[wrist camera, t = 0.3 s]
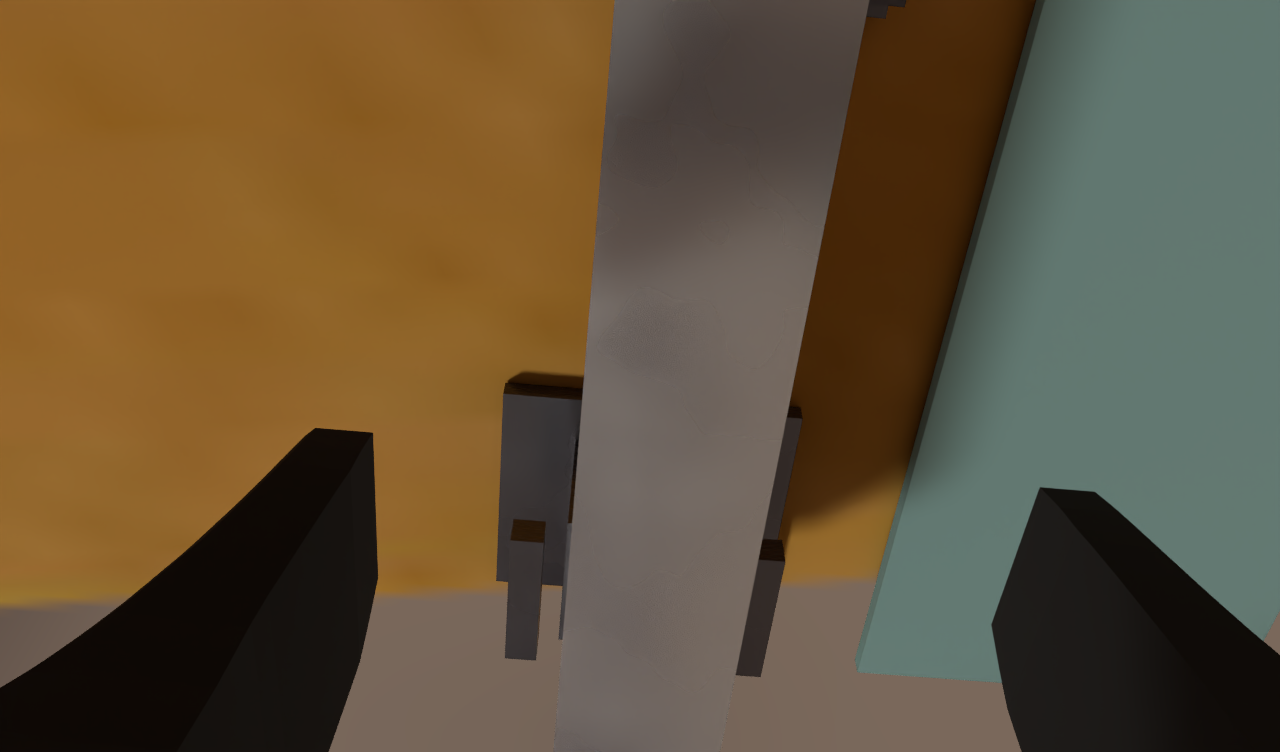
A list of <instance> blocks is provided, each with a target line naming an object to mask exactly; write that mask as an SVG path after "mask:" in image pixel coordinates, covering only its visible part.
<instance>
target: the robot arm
mask: <svg viewBox="0 0 1280 752" xmlns="http://www.w3.org/2000/svg"><path fill="white" fill-rule="evenodd" d="M377 580H378V564H377V536H376V507H375V479H374V451H373V433H370V432H358V431H346V430H333V429H321V428H315V429H313V430H312V431H311V432H310V433H308V434H307V435H306V436H305V437H304V438H303V439H302V440H301V441H300V442H299V443H298V444H297V445H296V446H295V447H294V448H293V449H292V450H291V451H290V452H289V453H288V454H287V455H286V456H285V457H284V458H283V459H282V460H281V461H280V462H279V463H278V464H277V465H276V466H275V467H274V468H273V469H272V470H271V471H270V472H269V473H268V474H267V475H266V476H265V477H264V478H263V479H262V480H261V481H260V482H259V483H258V484H257V485H256V486H255V487H254V488H253V489H252V490H251V491H250V492H249V493H248V494H247V495H246V496H245V497H244V498H243V499H242V500H241V501H239V502H238V503H237V504H236V505H235V506H234V507H233V508H232V509H231V510H230V511H229V512H228V513H227V514H226V515H225V516H223V517H222V518H221V519H220V520H219V521H218V522H217V523H216V524H215V525H214V526H213V527H212V528H210V529H209V530H208V531H207V532H206V533H205V534H204V535H203V536H202V537H201V538H200V539H199V540H197V541H196V542H195V543H194V544H193V545H192V546H191V547H190V548H189V549H187V550H186V551H185V552H184V553H183V554H182V555H181V556H179V557H178V558H177V559H176V560H175V561H173V562H172V563H171V564H170V565H169V566H167V567H166V568H165V569H164V570H163V571H161V572H160V573H159V574H158V575H157V576H155V577H154V578H153V579H152V580H151V581H149V582H148V583H147V584H146V585H145V586H143V587H142V588H141V589H140V590H139V591H137V592H136V593H135V594H134V595H132V596H131V597H130V598H129V599H128V600H126V601H125V602H124V603H123V604H121V605H120V606H119V607H117V608H116V609H115V610H114V611H112V612H111V613H110V614H108V615H107V616H106V617H105V618H103V619H102V620H100V621H99V622H98V623H97V624H95V625H94V626H92V627H91V628H90V629H88V630H87V631H86V632H84V633H83V634H81V636H79V637H77V638H76V639H74V640H73V641H72V642H70V643H69V644H67V645H66V646H64V647H63V648H62V649H60V650H59V651H57V652H56V653H54V654H53V655H51V656H50V657H49V658H47V659H46V660H44V661H43V662H41V663H40V664H38V665H37V666H35V667H34V668H32V669H31V670H29V671H27V672H26V673H24V674H22V675H21V676H19V677H17V678H16V679H14V680H12V681H11V682H9V683H8V684H6V685H4V686H2V687H1V688H0V752H328V751H329V749H330V746H331V743H332V740H333V738H334V735H335V732H336V729H337V726H338V723H339V720H340V717H341V715H342V712H343V709H344V706H345V703H346V700H347V698H348V695H349V692H350V689H351V686H352V683H353V680H354V677H355V674H356V671H357V668H358V665H359V663H360V659H361V654H362V649H363V645H364V641H365V636H366V632H367V627H368V623H369V618H370V613H371V609H372V604H373V599H374V595H375V590H376V585H377ZM991 626H992V632H993V638H994V643H995V649H996V654H997V660H998V665H999V671H1000V676H1001V680H1002V685H1003V689H1004V694H1005V699H1006V704H1007V708H1008V711H1009V715H1010V718H1011V721H1012V724H1013V727H1014V730H1015V733H1016V736H1017V739H1018V742H1019V745H1020V748H1021V750H1022V752H1280V655H1279V654H1278V653H1277V652H1275V651H1274V650H1273V649H1272V648H1271V647H1270V646H1268V645H1267V644H1266V643H1265V642H1264V641H1263V640H1261V639H1260V638H1259V637H1258V636H1257V635H1256V634H1254V633H1253V632H1252V631H1251V630H1250V629H1249V628H1247V627H1246V626H1245V625H1244V624H1243V623H1242V622H1240V621H1239V620H1238V619H1237V618H1236V617H1235V616H1234V615H1232V614H1231V613H1230V612H1229V611H1228V610H1227V609H1226V608H1225V607H1224V606H1222V605H1221V604H1220V603H1219V602H1218V601H1217V600H1216V599H1215V598H1213V597H1212V596H1211V595H1210V594H1209V593H1208V592H1207V591H1206V590H1205V589H1203V588H1202V587H1201V586H1200V585H1199V584H1198V583H1197V582H1196V581H1195V580H1194V579H1192V578H1191V577H1190V576H1189V575H1188V574H1187V573H1186V572H1185V571H1184V570H1183V569H1181V568H1180V567H1179V566H1178V565H1177V564H1176V563H1175V562H1174V561H1173V560H1172V559H1171V558H1169V557H1168V556H1167V555H1166V554H1165V553H1164V552H1163V551H1162V550H1161V549H1160V548H1159V547H1157V546H1156V545H1155V544H1154V543H1153V542H1152V541H1151V540H1150V539H1149V538H1148V537H1147V536H1145V535H1144V534H1143V533H1142V532H1141V531H1140V530H1139V529H1138V528H1137V527H1136V526H1134V525H1133V524H1132V523H1131V522H1130V521H1129V520H1128V519H1127V518H1126V517H1124V516H1123V515H1122V514H1121V513H1120V512H1119V511H1118V510H1116V509H1115V508H1114V507H1113V506H1112V505H1111V504H1109V503H1108V502H1107V501H1106V500H1105V499H1103V498H1102V497H1101V496H1100V495H1098V494H1097V493H1096V492H1093V491H1080V490H1068V489H1056V488H1044V487H1040V488H1039V491H1038V493H1037V496H1036V499H1035V502H1034V505H1033V508H1032V510H1031V513H1030V516H1029V519H1028V522H1027V525H1026V527H1025V530H1024V533H1023V536H1022V539H1021V542H1020V544H1019V547H1018V550H1017V553H1016V556H1015V559H1014V561H1013V564H1012V567H1011V570H1010V573H1009V576H1008V578H1007V581H1006V584H1005V587H1004V590H1003V593H1002V595H1001V598H1000V601H999V604H998V607H997V610H996V612H995V615H994V618H993V621H992V624H991Z"/></svg>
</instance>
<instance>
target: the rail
mask: <svg viewBox="0 0 1280 752" xmlns="http://www.w3.org/2000/svg"><path fill="white" fill-rule="evenodd" d="M868 5H869V0H615V5H614V17H613V29H612V42H611V54H610V66H609V78H608V91H607V103H606V115H605V127H604V140H603V152H602V164H601V176H600V189H599V201H598V213H597V225H596V238H595V250H594V262H593V274H592V287H591V299H590V311H589V323H588V335H587V348H586V360H585V372H584V384H583V397H582V409H581V421H580V433H579V446H578V458H577V470H576V482H575V495H574V507H573V519H572V531H571V544H570V556H569V568H568V580H567V593H566V605H565V617H564V629H563V642H562V655H561V666H560V679H559V690H558V703H557V715H556V728H555V739H554V752H720V750H721V745H722V741H723V736H724V730H725V725H726V720H727V715H728V710H729V705H730V700H731V695H732V690H733V685H734V680H735V675H736V670H737V665H738V660H739V655H740V650H741V645H742V640H743V635H744V630H745V625H746V620H747V615H748V610H749V604H750V599H751V594H752V589H753V584H754V579H755V574H756V569H757V564H758V559H759V554H760V549H761V544H762V539H763V534H764V529H765V524H766V519H767V514H768V509H769V504H770V499H771V494H772V489H773V484H774V478H775V473H776V468H777V463H778V458H779V453H780V448H781V443H782V438H783V433H784V428H785V423H786V418H787V413H788V408H789V403H790V398H791V393H792V388H793V383H794V378H795V373H796V368H797V363H798V357H799V352H800V347H801V342H802V337H803V332H804V327H805V322H806V317H807V312H808V307H809V302H810V297H811V292H812V287H813V282H814V277H815V272H816V267H817V262H818V257H819V252H820V247H821V242H822V236H823V231H824V226H825V221H826V216H827V211H828V206H829V201H830V196H831V191H832V186H833V181H834V176H835V171H836V166H837V161H838V156H839V151H840V146H841V141H842V136H843V131H844V126H845V121H846V115H847V110H848V105H849V100H850V95H851V90H852V85H853V80H854V75H855V70H856V65H857V60H858V55H859V50H860V45H861V40H862V35H863V30H864V25H865V20H866V15H867V10H868Z"/></svg>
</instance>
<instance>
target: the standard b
mask: <svg viewBox="0 0 1280 752" xmlns="http://www.w3.org/2000/svg"><path fill="white" fill-rule="evenodd" d="M905 3H906V0H869V5H868V10H867V15H866V17H874V18H884V19H886V15H887V10H888V6H897V7H905Z"/></svg>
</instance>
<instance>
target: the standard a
mask: <svg viewBox="0 0 1280 752" xmlns="http://www.w3.org/2000/svg"><path fill="white" fill-rule="evenodd" d="M582 397H583V389H574V388H562V387H550V386H538V385H526V384H514V383H505V388H504V393H503V418H502V444H501V471H500V498H499V525H498V552H497V578H496V581H504V582H508V602H507V624H506V646H505V658H509V659H524V660H536V654H537V646H538V637H539V621H540V606H541V592H542V584H543V585H557V586H563V590H562V603H561V615H560V628H559V629H560V630H559V639H561V640H563V629H564V617H565V605H566V593H567V580H568V568H569V556H570V544H571V531H572V519H573V507H574V495H575V482H576V470H577V458H578V446H579V433H580V421H581V409H582ZM802 419H803V418H802V413H801V408H800V407H789V408H788V413H787V418H786V423H785V428H784V433H783V438H782V443H781V448H780V453H779V458H778V463H777V468H776V473H775V478H774V484H773V489H772V494H771V499H770V504H769V509H768V514H767V519H766V524H765V529H764V534H763V539H762V544H761V549H760V554H759V559H758V564H757V569H756V574H755V579H754V584H753V589H752V594H751V599H750V604H749V610H748V615H747V620H746V625H745V630H744V635H743V640H742V645H741V650H740V655H739V660H738V665H737V670H736V675H740V676H755V677H761V672H762V668H763V663H764V658H765V654H766V649H767V644H768V640H769V635H770V630H771V626H772V621H773V616H774V612H775V607H776V603H777V598H778V593H779V589H780V584H781V579H782V575H783V570H784V565H785V557H784V550H783V543H782V540H778V535H779V530H780V525H781V520H782V516H783V511H784V506H785V501H786V496H787V492H788V487H789V482H790V477H791V472H792V467H793V463H794V458H795V453H796V448H797V443H798V439H799V434H800V429H801V424H802Z"/></svg>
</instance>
